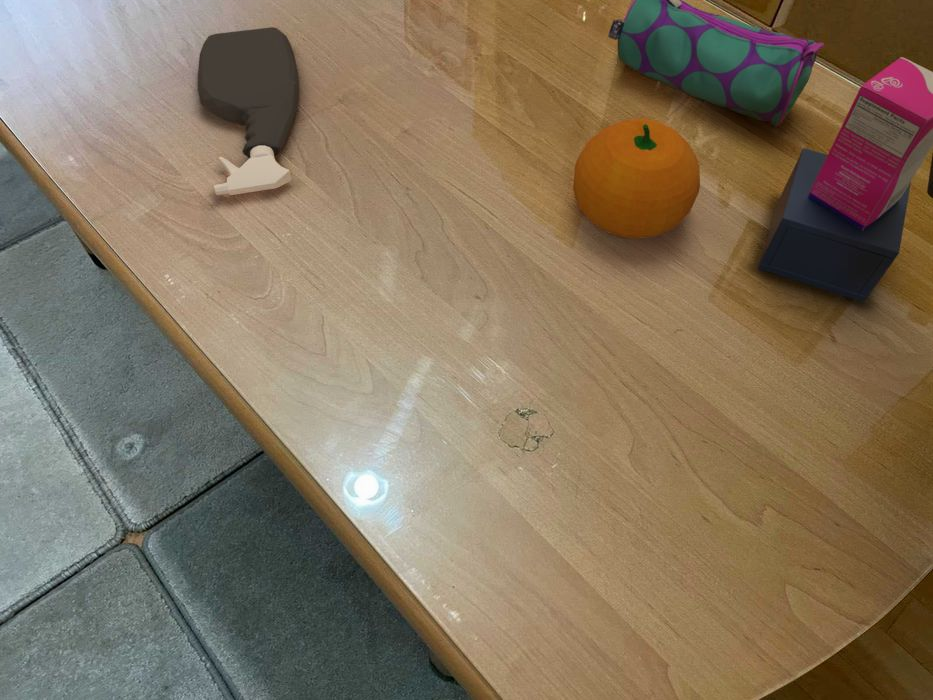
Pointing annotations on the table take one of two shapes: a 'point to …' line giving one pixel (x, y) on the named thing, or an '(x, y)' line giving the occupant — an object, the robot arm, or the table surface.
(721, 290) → the table surface
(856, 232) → the lid
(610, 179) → the fruit
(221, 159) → the spray bottle
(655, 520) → the table surface
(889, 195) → the supplement box
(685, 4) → the pencil case
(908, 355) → the table surface
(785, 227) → the dark blue square block
